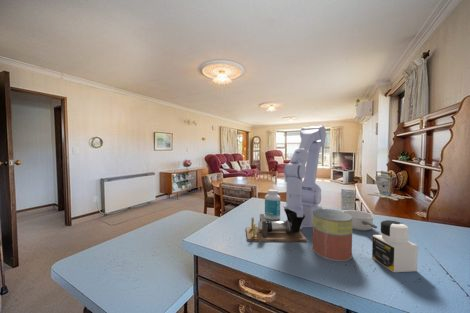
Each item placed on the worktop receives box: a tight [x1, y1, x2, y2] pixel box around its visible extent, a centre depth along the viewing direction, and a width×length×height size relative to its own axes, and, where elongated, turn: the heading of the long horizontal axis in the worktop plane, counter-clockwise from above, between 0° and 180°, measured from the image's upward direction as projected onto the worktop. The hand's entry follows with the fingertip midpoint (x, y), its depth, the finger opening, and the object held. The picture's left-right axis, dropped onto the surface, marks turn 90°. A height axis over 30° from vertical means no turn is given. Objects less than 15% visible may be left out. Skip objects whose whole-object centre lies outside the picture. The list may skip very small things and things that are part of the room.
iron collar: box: [259, 213, 268, 237], centre depth 73 cm, size 2×8×6 cm, turn 0°
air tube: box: [257, 220, 303, 233], centre depth 73 cm, size 16×5×5 cm, turn 90°
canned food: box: [312, 208, 353, 262], centre depth 61 cm, size 11×11×12 cm
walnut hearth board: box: [245, 226, 308, 243], centre depth 73 cm, size 21×11×1 cm, turn 90°
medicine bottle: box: [371, 219, 419, 273], centre depth 54 cm, size 7×7×12 cm
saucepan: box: [342, 209, 378, 231], centre depth 78 cm, size 12×20×6 cm, turn 169°
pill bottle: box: [264, 188, 281, 221], centre depth 92 cm, size 8×7×14 cm
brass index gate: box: [249, 216, 257, 237], centre depth 73 cm, size 2×9×5 cm, turn 0°
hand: (293, 229), depth 73 cm, fingers closed on air tube, 4 cm apart
